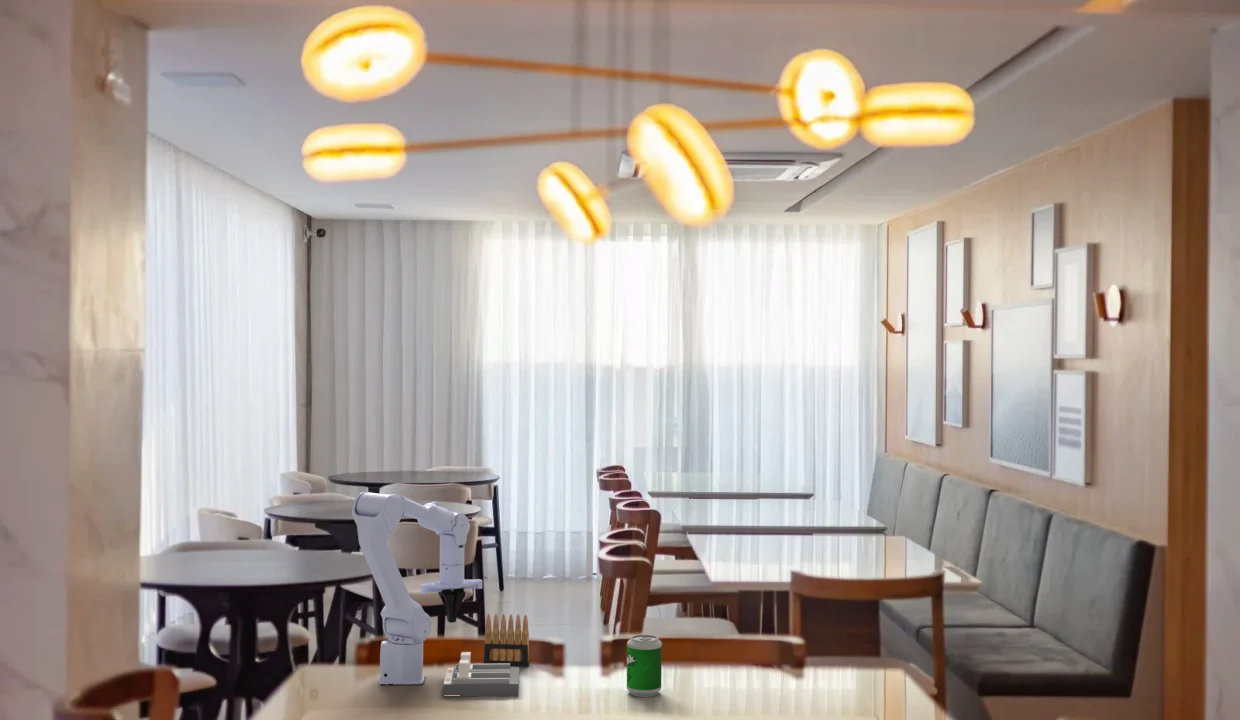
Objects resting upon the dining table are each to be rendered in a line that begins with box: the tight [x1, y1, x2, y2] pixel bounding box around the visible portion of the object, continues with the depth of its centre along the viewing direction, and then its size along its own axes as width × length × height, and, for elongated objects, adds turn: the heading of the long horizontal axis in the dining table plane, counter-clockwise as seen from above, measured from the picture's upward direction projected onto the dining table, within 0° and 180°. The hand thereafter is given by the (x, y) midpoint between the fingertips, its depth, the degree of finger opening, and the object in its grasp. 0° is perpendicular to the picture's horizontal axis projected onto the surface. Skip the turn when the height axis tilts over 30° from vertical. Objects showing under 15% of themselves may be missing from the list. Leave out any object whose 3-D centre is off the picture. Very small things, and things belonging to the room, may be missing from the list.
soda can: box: [626, 634, 663, 698], centre depth 258 cm, size 8×8×12 cm
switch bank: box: [442, 663, 520, 697], centre depth 261 cm, size 16×14×4 cm
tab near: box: [457, 659, 471, 678], centre depth 257 cm, size 3×4×4 cm
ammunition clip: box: [482, 613, 531, 668], centre depth 281 cm, size 11×2×12 cm, turn 86°
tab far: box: [458, 651, 473, 670], centre depth 264 cm, size 3×4×4 cm
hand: (451, 621), depth 279 cm, fingers closed
